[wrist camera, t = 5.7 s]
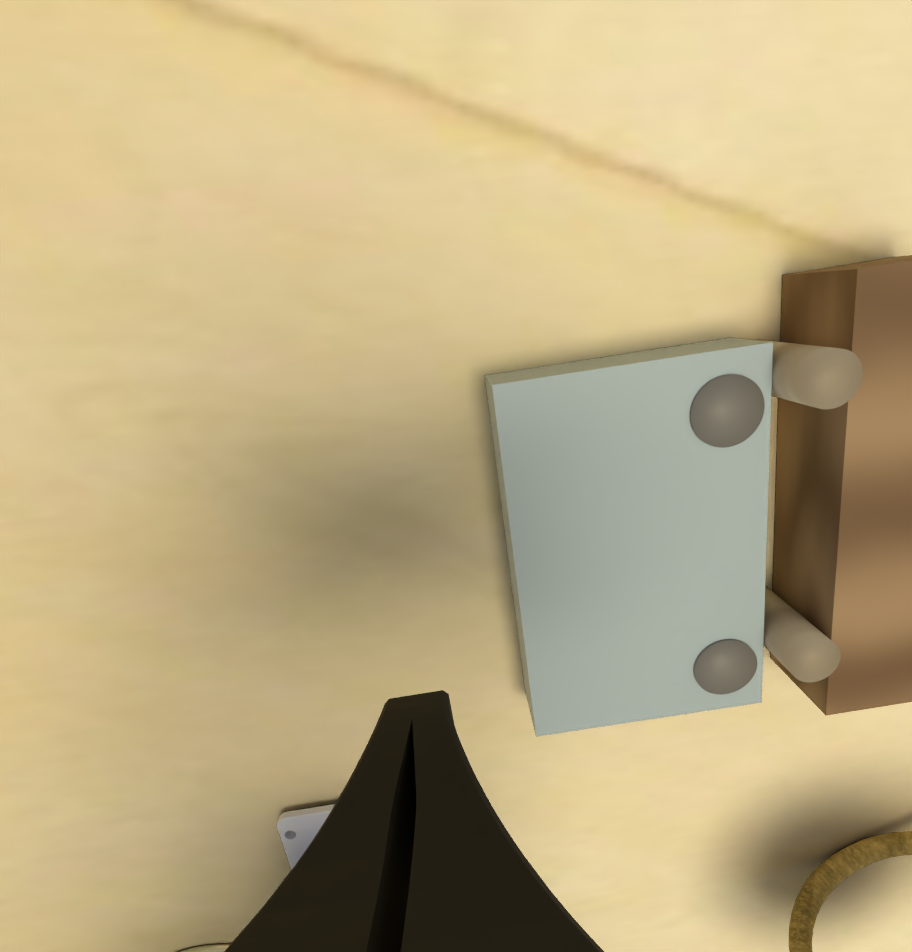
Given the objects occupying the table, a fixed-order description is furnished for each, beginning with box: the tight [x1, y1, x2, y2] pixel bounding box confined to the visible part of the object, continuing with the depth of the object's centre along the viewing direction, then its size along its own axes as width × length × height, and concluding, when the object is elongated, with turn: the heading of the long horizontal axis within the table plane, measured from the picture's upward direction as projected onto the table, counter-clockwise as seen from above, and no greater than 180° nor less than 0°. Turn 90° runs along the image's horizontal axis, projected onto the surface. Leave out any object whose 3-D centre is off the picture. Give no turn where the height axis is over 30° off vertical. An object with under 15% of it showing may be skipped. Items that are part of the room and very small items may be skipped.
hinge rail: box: [758, 255, 912, 715], centre depth 20 cm, size 16×6×4 cm, turn 9°
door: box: [485, 337, 773, 737], centre depth 21 cm, size 14×9×3 cm, turn 8°
